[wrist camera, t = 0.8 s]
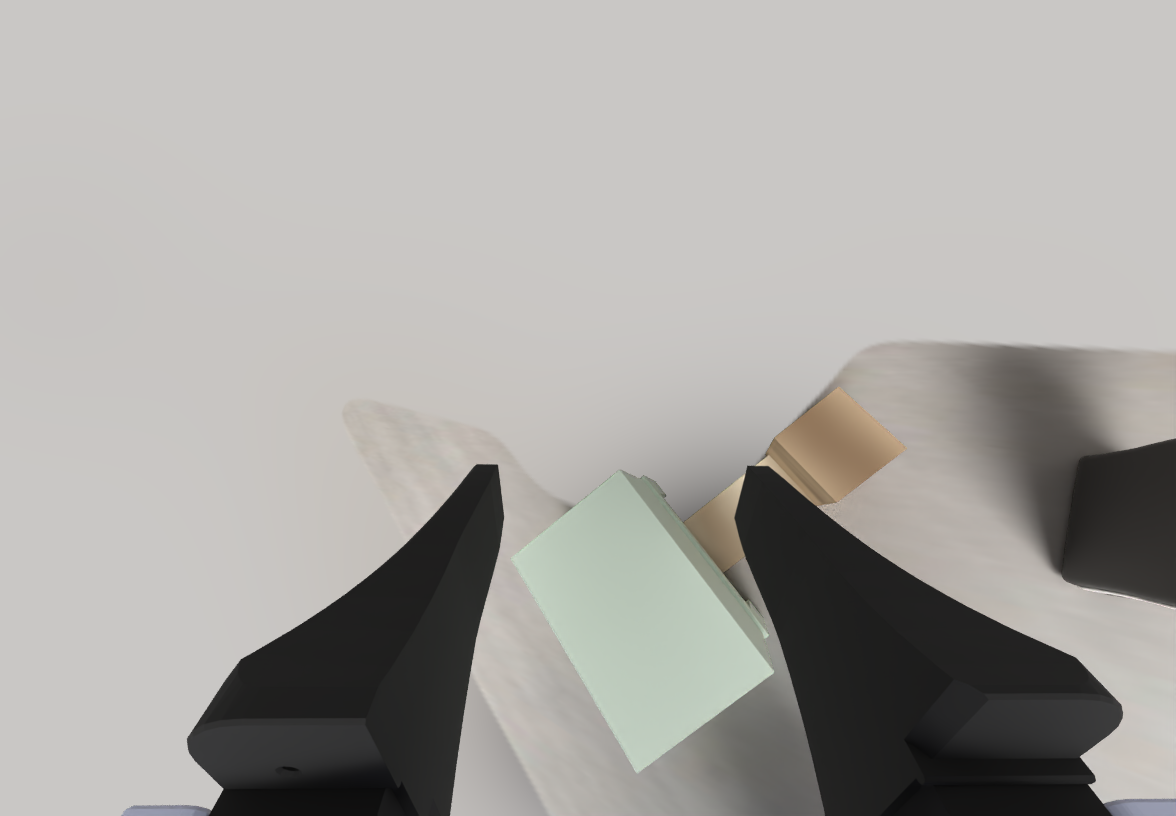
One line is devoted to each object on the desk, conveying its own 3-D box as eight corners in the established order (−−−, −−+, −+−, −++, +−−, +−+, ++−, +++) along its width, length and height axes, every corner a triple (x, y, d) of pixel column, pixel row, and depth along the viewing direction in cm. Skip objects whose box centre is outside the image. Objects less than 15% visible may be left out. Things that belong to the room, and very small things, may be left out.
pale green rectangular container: (655, 481, 29) (620, 463, 20) (763, 617, 25) (782, 674, 16) (572, 547, 30) (501, 560, 20) (666, 690, 26) (631, 785, 17)
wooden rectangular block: (816, 414, 27) (838, 386, 21) (868, 464, 26) (907, 448, 20) (644, 549, 28) (623, 556, 23) (685, 605, 27) (673, 627, 21)
